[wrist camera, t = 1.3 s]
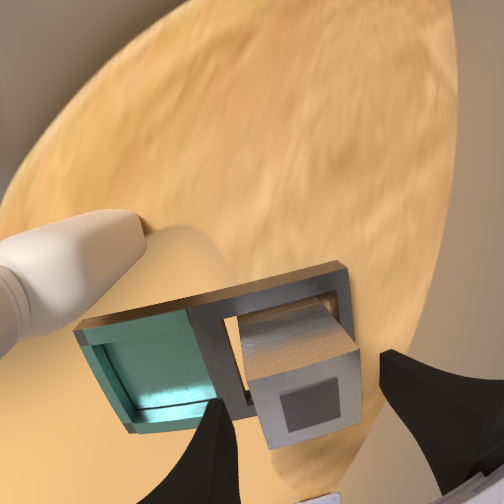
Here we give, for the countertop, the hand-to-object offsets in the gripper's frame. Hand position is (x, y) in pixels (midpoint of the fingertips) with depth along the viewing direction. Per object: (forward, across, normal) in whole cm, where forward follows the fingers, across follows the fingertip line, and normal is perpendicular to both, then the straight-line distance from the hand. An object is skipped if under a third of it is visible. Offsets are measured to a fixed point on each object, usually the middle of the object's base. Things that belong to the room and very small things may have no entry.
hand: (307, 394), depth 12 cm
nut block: (+5, 0, 0) cm, 5 cm away
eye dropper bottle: (+5, +8, -8) cm, 13 cm away
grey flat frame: (+5, +4, 0) cm, 6 cm away
